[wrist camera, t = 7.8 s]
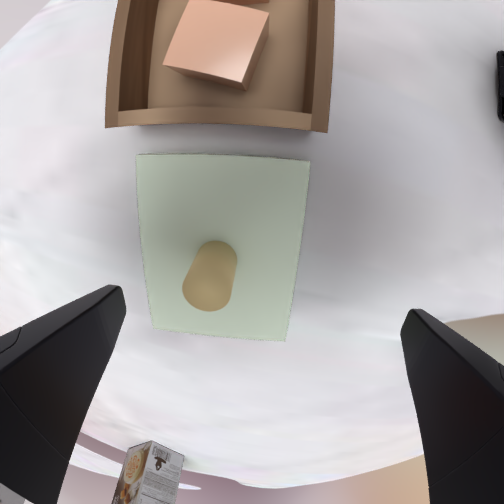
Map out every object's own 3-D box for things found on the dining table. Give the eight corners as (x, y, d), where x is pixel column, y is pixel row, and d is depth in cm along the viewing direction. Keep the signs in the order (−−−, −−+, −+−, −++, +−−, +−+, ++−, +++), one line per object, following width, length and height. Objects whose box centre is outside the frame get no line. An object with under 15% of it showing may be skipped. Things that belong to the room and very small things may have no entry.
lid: (307, 159, 18) (323, 172, 13) (284, 331, 24) (287, 378, 19) (142, 153, 18) (104, 165, 13) (157, 320, 24) (137, 361, 19)
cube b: (268, 34, 13) (269, 12, 10) (246, 91, 15) (241, 82, 11) (205, 20, 13) (190, -3, 9) (183, 75, 14) (162, 64, 11)
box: (320, -46, 10) (331, -79, 6) (312, 130, 16) (327, 133, 12) (161, -45, 10) (139, -73, 6) (139, 125, 16) (105, 128, 12)
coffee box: (158, 462, 38) (141, 535, 24) (127, 447, 37) (104, 521, 22) (186, 455, 35) (169, 541, 21) (151, 439, 34) (127, 528, 19)
